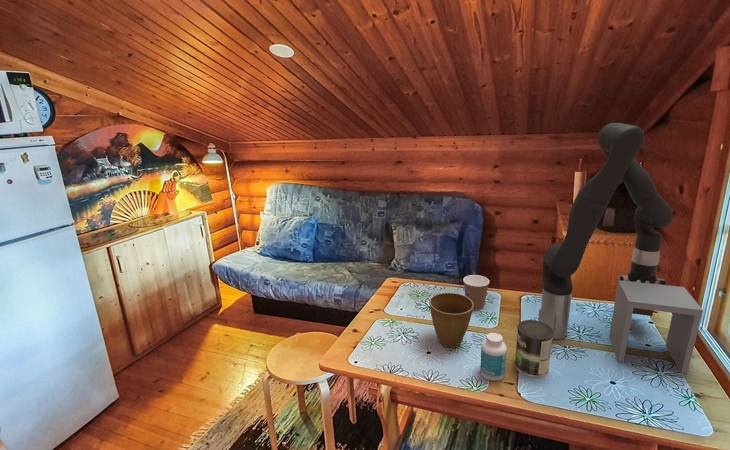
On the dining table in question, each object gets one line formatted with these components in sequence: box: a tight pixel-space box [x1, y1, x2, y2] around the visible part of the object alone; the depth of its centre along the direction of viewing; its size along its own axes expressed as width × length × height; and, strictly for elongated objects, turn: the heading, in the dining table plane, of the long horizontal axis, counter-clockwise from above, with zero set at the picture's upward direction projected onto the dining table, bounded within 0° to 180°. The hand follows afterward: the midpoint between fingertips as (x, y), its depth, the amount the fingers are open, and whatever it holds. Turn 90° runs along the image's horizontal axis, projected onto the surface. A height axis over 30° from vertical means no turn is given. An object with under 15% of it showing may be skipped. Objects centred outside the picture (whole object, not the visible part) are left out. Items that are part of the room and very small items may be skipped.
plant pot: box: [429, 292, 474, 349], centre depth 135 cm, size 15×15×16 cm
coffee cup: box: [463, 274, 490, 311], centre depth 159 cm, size 10×10×12 cm
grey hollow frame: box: [608, 279, 704, 375], centre depth 123 cm, size 15×18×22 cm
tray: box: [632, 308, 654, 317], centre depth 138 cm, size 14×6×5 cm, turn 158°
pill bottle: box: [479, 332, 508, 382], centre depth 119 cm, size 8×7×14 cm
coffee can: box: [514, 319, 554, 378], centre depth 121 cm, size 10×10×14 cm
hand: (636, 303), depth 138 cm, fingers closed on tray, 6 cm apart
